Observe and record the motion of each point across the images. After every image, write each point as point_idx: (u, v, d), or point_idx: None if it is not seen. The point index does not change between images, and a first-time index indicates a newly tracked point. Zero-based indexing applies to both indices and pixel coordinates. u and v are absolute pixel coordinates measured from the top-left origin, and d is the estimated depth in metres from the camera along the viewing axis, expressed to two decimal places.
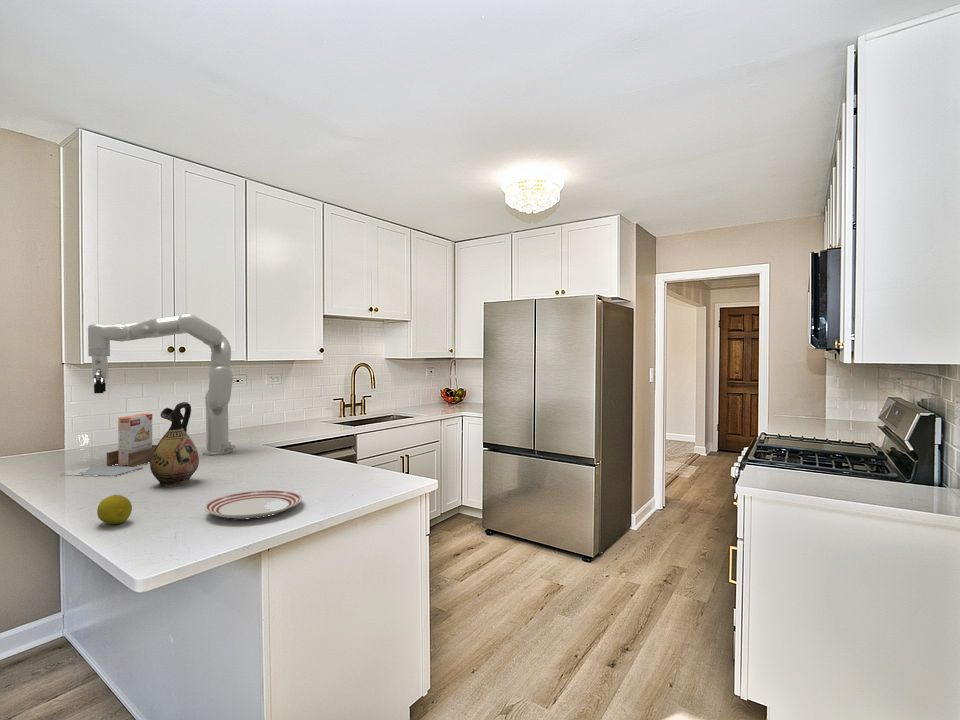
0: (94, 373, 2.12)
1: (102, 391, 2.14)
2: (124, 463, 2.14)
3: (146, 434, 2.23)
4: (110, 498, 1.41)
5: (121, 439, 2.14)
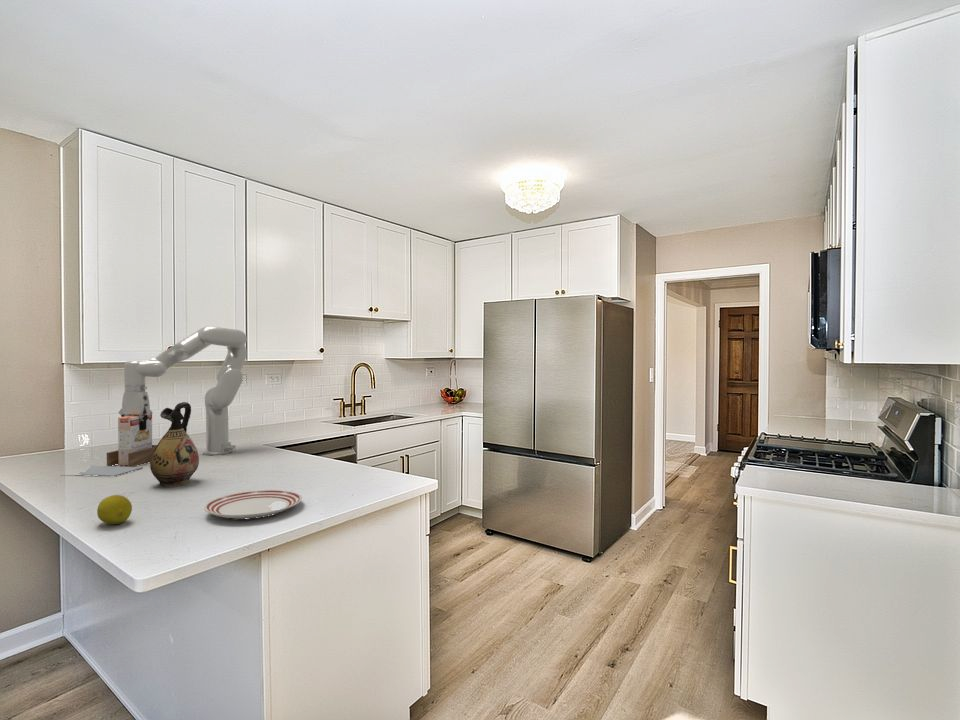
0: (142, 411, 2.19)
1: (145, 427, 2.22)
2: (124, 463, 2.14)
3: (145, 433, 2.23)
4: (110, 498, 1.41)
5: (121, 439, 2.14)
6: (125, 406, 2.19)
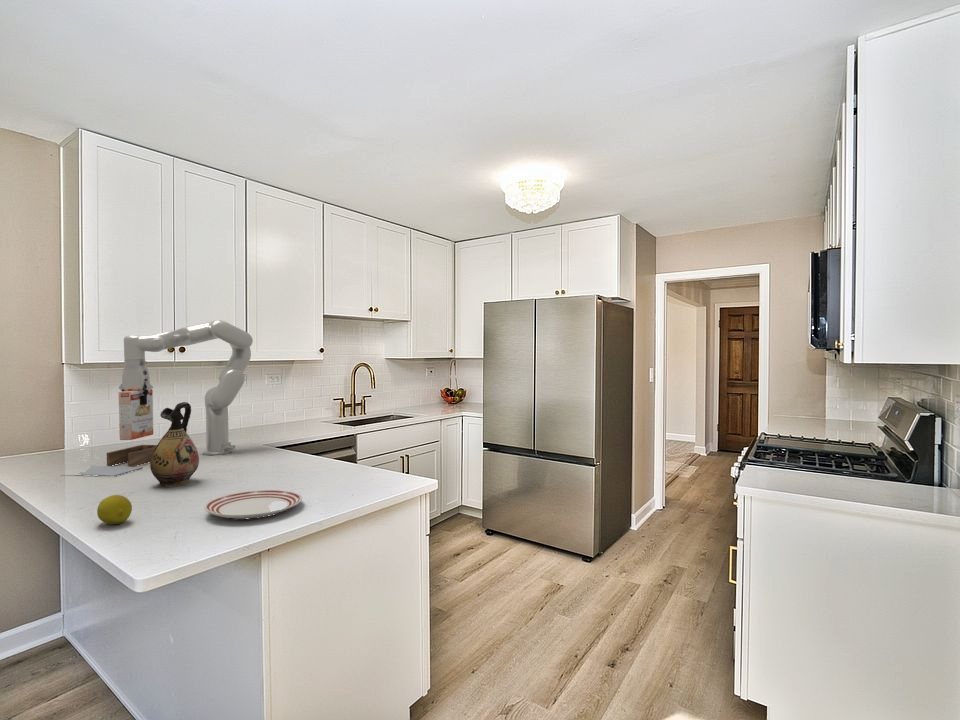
0: (143, 385, 2.19)
1: None
2: (125, 437, 2.14)
3: (146, 408, 2.23)
4: (110, 498, 1.41)
5: (122, 413, 2.14)
6: (126, 380, 2.19)
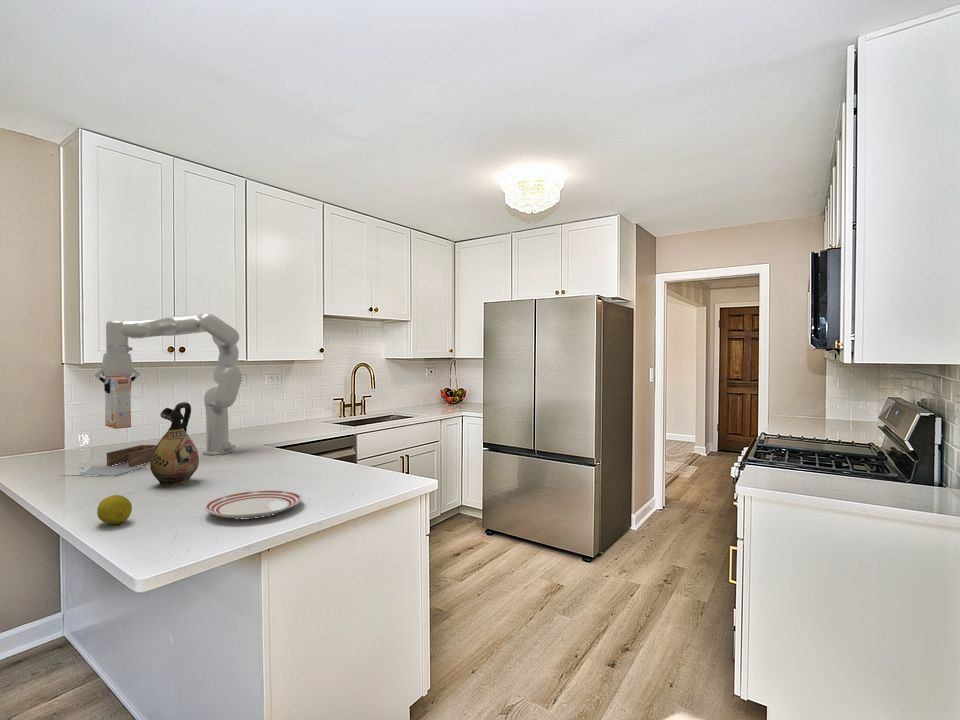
0: None
1: None
2: (123, 425, 2.08)
3: None
4: (110, 498, 1.41)
5: (119, 401, 2.06)
6: (111, 367, 2.08)
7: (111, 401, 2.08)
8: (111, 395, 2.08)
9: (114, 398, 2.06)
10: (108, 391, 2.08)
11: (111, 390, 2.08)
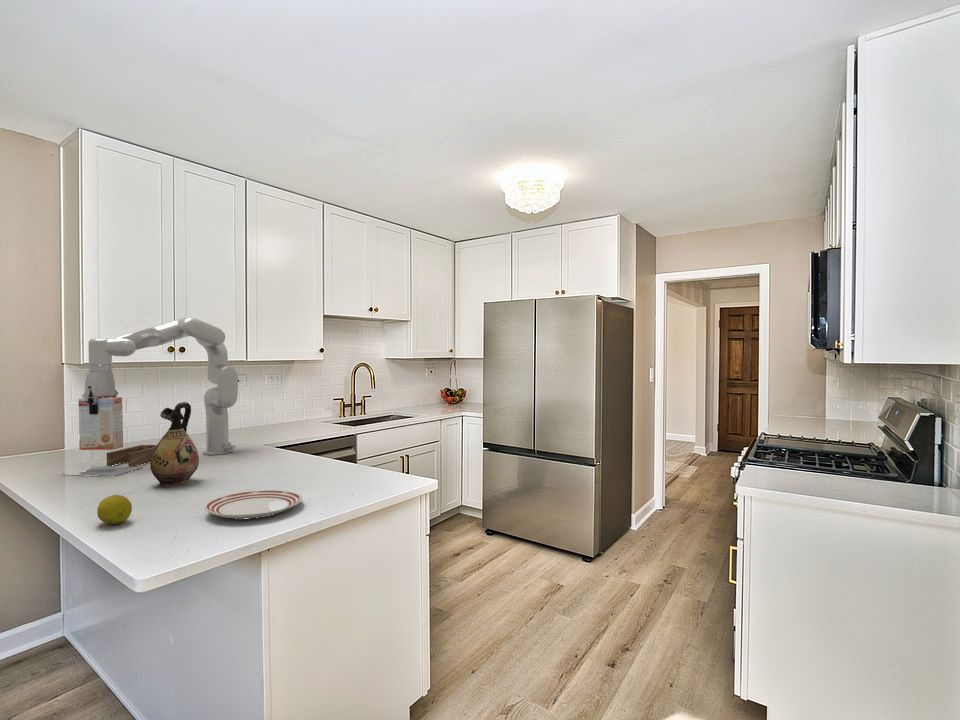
0: None
1: None
2: (118, 445, 2.04)
3: None
4: (110, 498, 1.41)
5: (115, 421, 2.02)
6: (100, 387, 2.01)
7: (101, 422, 2.01)
8: (101, 416, 2.01)
9: (110, 418, 2.01)
10: (97, 412, 2.00)
11: (102, 411, 2.01)
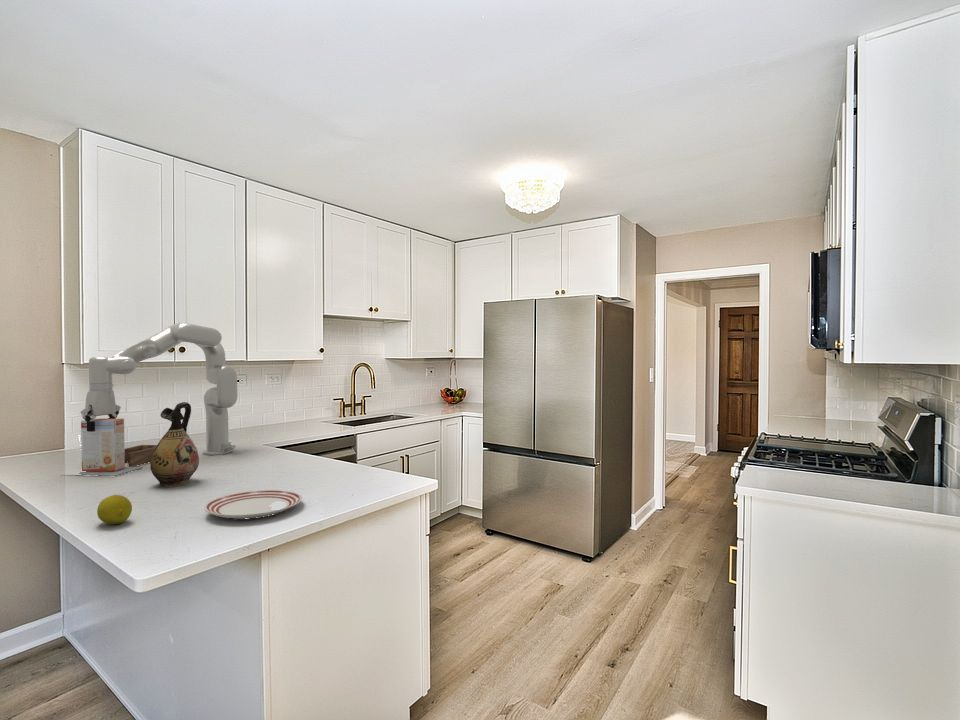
0: None
1: None
2: (120, 467, 2.04)
3: None
4: (110, 498, 1.41)
5: (117, 442, 2.03)
6: (101, 406, 2.01)
7: (103, 444, 2.02)
8: (103, 438, 2.02)
9: (112, 440, 2.02)
10: (94, 429, 1.99)
11: (103, 432, 2.01)
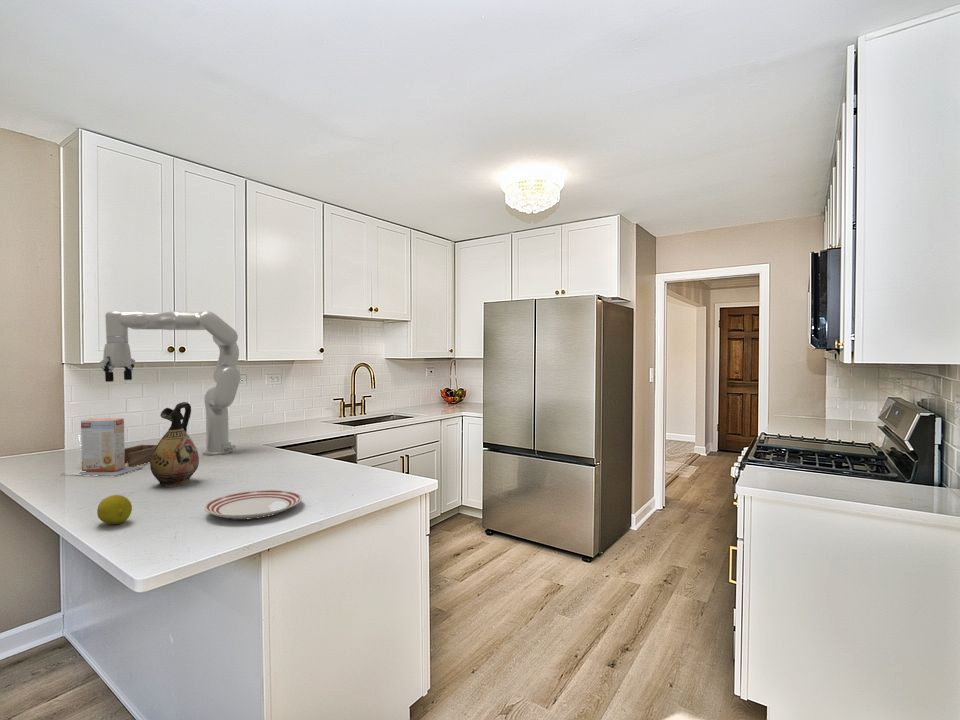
0: None
1: None
2: (120, 467, 2.04)
3: None
4: (110, 498, 1.41)
5: (117, 442, 2.03)
6: (118, 357, 2.12)
7: (103, 444, 2.02)
8: (103, 438, 2.01)
9: (112, 440, 2.02)
10: (113, 379, 2.10)
11: (103, 432, 2.01)
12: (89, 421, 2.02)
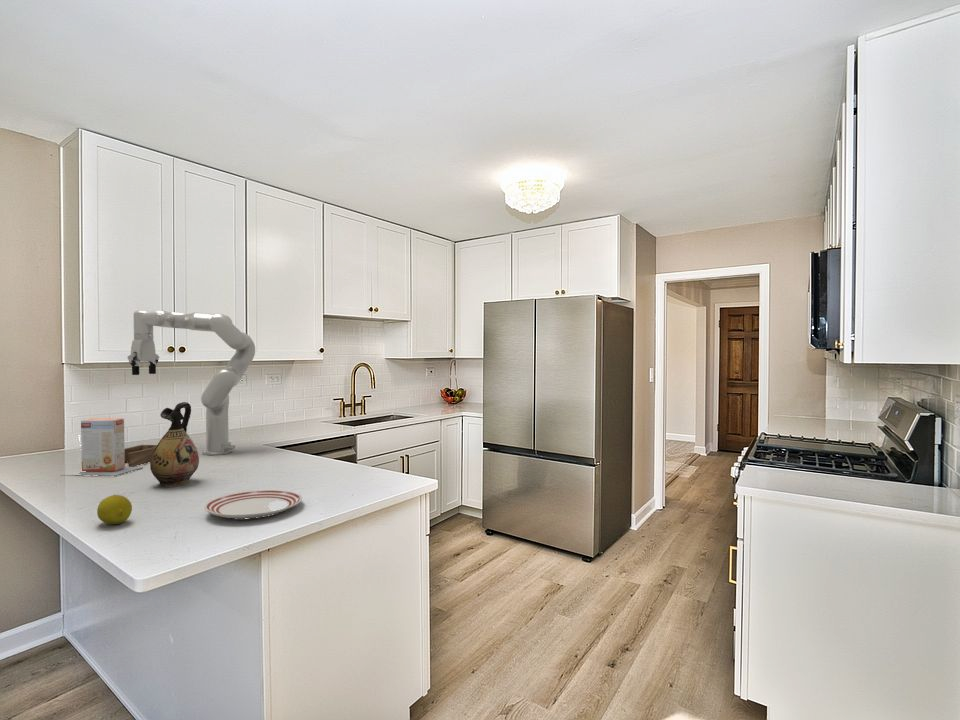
0: None
1: None
2: (120, 467, 2.04)
3: None
4: (110, 498, 1.41)
5: (117, 442, 2.03)
6: (144, 353, 2.30)
7: (103, 444, 2.02)
8: (103, 438, 2.01)
9: (112, 440, 2.02)
10: (138, 373, 2.28)
11: (103, 432, 2.01)
12: (89, 421, 2.02)
